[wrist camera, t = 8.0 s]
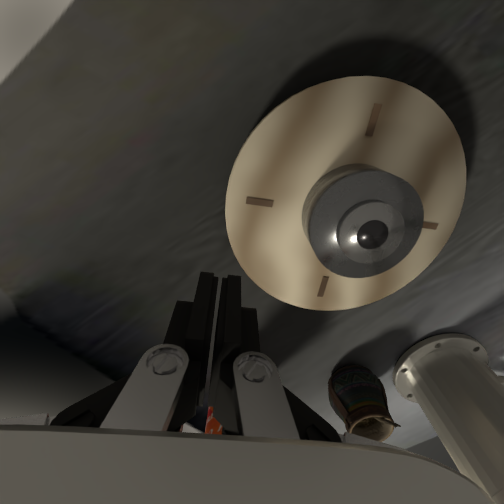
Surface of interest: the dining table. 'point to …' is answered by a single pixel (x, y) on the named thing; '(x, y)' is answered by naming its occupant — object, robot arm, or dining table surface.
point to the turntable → (325, 160)
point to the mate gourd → (361, 402)
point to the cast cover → (361, 220)
